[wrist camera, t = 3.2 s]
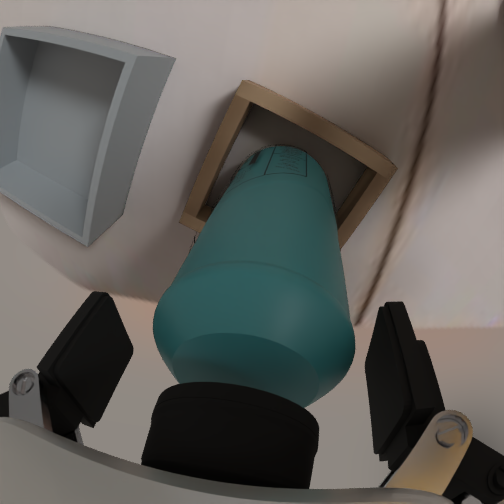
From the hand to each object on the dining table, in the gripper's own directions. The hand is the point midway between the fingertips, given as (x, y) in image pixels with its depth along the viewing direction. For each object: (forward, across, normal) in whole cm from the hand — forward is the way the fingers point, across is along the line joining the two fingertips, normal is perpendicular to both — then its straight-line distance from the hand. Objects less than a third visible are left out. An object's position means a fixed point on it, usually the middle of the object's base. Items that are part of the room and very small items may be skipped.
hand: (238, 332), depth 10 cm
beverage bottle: (+14, -1, 0) cm, 14 cm away
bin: (+14, +16, -8) cm, 23 cm away
